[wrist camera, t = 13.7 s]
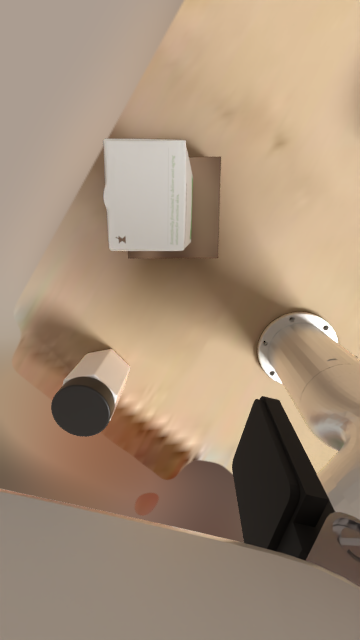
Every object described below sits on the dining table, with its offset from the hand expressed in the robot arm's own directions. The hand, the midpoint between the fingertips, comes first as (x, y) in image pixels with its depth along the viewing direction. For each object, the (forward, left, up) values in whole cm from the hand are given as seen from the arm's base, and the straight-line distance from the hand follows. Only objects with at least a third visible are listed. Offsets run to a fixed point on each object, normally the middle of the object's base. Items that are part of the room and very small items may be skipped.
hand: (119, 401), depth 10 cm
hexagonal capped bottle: (+8, +20, -36) cm, 42 cm away
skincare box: (+3, -8, -31) cm, 32 cm away
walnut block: (+2, -8, -37) cm, 38 cm away
